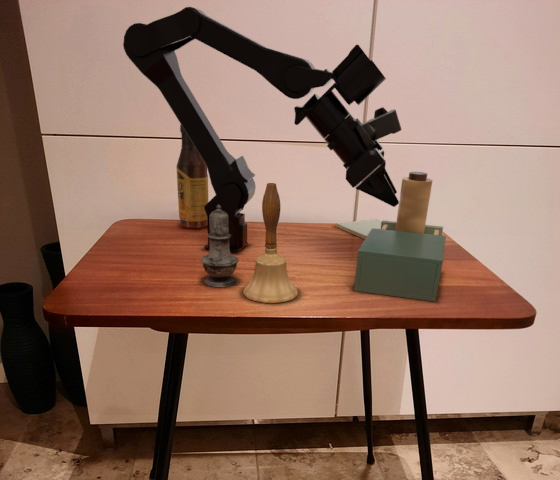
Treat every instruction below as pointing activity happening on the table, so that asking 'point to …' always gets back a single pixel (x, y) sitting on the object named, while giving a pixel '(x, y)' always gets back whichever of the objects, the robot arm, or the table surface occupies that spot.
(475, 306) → the table surface
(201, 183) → the sauce bottle
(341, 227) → the tile
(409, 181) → the pepper mill
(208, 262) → the salt shaker
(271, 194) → the hand bell
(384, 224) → the drawer
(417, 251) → the cabinet
